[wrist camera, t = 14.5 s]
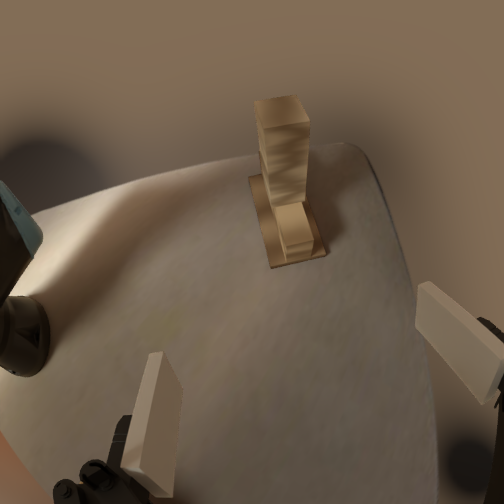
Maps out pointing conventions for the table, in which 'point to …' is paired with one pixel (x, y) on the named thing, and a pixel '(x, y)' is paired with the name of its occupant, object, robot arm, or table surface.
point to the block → (283, 148)
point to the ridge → (286, 228)
